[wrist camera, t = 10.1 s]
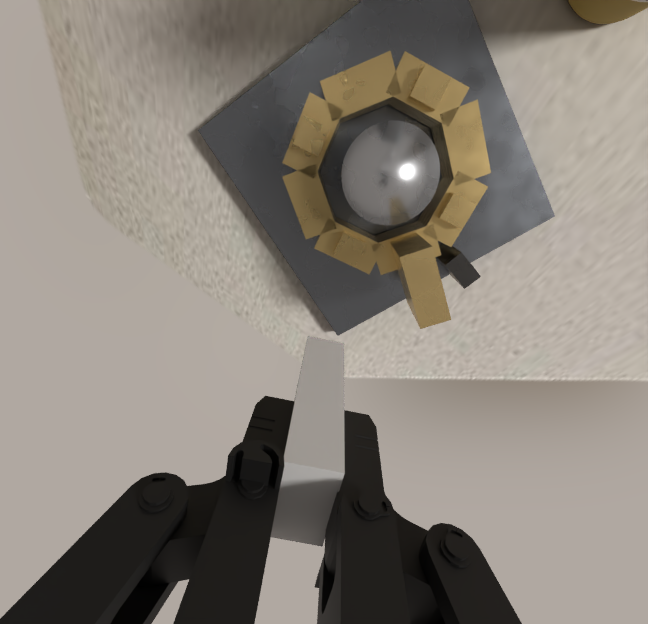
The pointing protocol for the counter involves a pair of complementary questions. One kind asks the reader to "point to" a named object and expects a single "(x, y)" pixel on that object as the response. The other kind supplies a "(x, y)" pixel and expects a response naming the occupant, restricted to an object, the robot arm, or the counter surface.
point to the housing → (379, 152)
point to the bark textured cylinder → (607, 9)
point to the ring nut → (452, 191)
